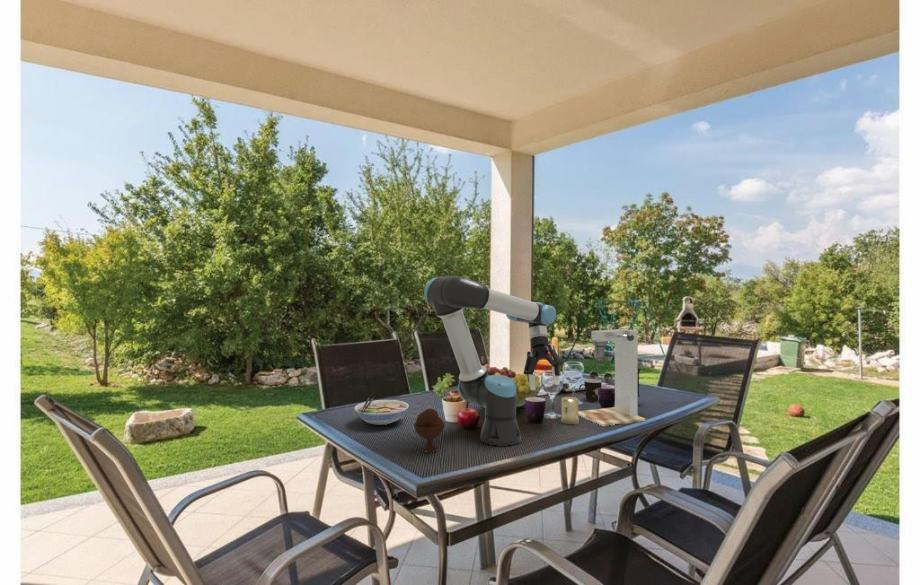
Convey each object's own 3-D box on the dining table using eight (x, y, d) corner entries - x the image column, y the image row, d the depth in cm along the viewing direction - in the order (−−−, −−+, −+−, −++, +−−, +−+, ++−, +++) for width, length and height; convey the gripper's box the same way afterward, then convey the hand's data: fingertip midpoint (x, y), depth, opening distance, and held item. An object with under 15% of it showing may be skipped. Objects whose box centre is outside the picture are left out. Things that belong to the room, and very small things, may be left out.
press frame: (611, 424, 190) (611, 334, 190) (587, 413, 206) (587, 330, 205) (648, 419, 197) (648, 332, 196) (622, 409, 212) (622, 328, 212)
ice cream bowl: (451, 449, 165) (451, 407, 165) (429, 458, 157) (428, 413, 157) (430, 442, 172) (430, 402, 172) (407, 450, 164) (407, 408, 164)
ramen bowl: (405, 432, 184) (405, 412, 184) (348, 433, 184) (347, 412, 184) (411, 415, 209) (411, 396, 209) (361, 415, 209) (360, 397, 209)
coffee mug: (600, 398, 237) (600, 379, 237) (603, 403, 229) (603, 382, 228) (576, 398, 238) (576, 378, 238) (579, 402, 230) (579, 382, 230)
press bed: (602, 426, 191) (602, 423, 191) (574, 414, 209) (574, 411, 209) (645, 420, 198) (645, 418, 198) (615, 409, 217) (615, 406, 217)
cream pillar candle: (567, 425, 192) (567, 401, 192) (558, 420, 199) (558, 397, 199) (581, 423, 195) (581, 399, 195) (572, 419, 201) (572, 396, 201)
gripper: (566, 331, 193) (573, 382, 185) (525, 345, 211) (529, 392, 204) (554, 328, 189) (560, 381, 181) (512, 343, 207) (517, 391, 199)
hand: (544, 387), depth 192 cm, fingers open, 13 cm apart
